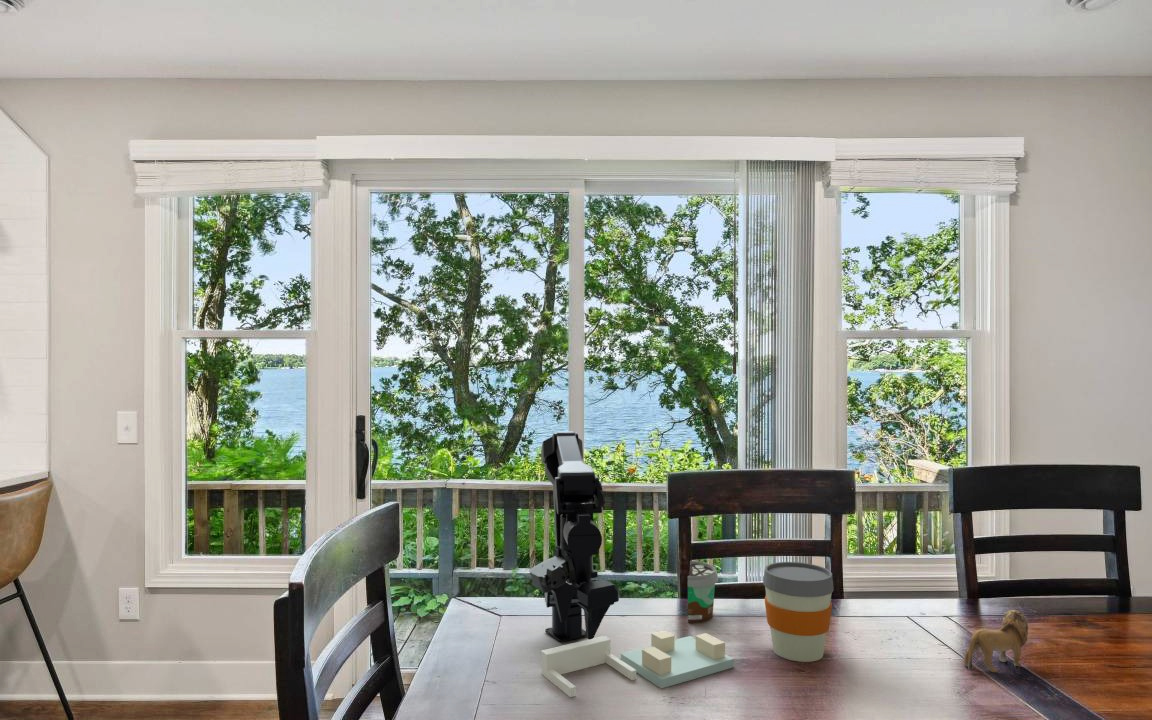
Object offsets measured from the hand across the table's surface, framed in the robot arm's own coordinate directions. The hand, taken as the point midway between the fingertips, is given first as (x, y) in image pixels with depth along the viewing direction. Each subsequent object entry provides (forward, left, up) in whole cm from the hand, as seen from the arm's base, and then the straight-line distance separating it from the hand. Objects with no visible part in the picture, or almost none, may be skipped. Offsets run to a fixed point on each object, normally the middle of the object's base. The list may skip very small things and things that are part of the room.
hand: (576, 629), depth 125 cm
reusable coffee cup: (+15, +39, -7) cm, 42 cm away
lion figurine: (+37, +65, -7) cm, 75 cm away
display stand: (+8, +16, -7) cm, 19 cm away
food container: (-8, +36, -7) cm, 37 cm away
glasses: (+4, 0, -7) cm, 8 cm away
